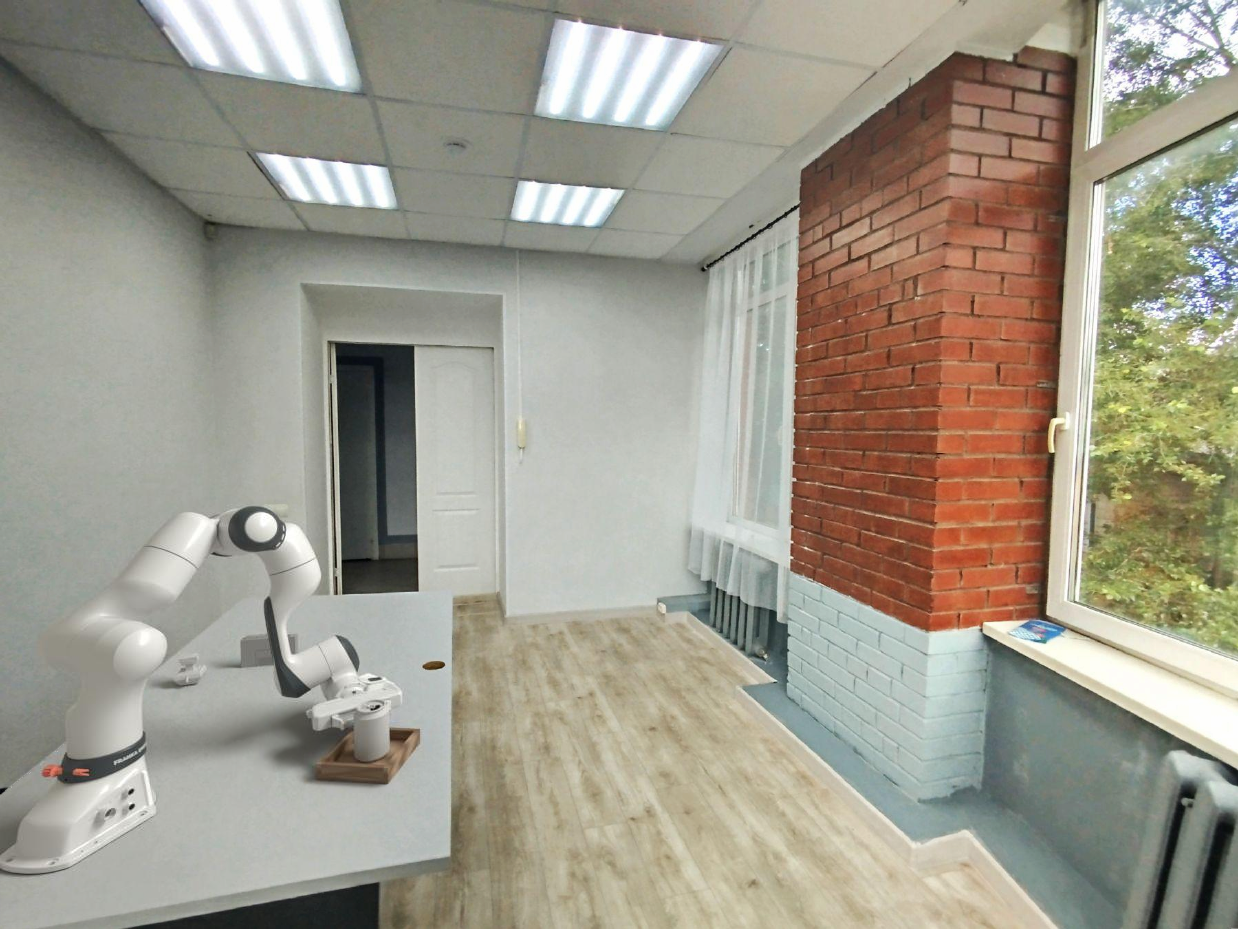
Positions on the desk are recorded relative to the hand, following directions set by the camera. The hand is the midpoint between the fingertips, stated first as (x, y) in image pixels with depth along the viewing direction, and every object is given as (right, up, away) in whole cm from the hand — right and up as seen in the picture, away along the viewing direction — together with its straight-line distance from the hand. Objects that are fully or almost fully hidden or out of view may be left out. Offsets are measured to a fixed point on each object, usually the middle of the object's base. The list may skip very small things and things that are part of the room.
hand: (367, 719), depth 131 cm
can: (+2, -8, -1) cm, 8 cm away
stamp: (-69, -6, +37) cm, 79 cm away
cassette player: (-54, -5, +51) cm, 75 cm away
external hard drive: (-15, -7, +36) cm, 40 cm away
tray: (+2, -9, -2) cm, 9 cm away
